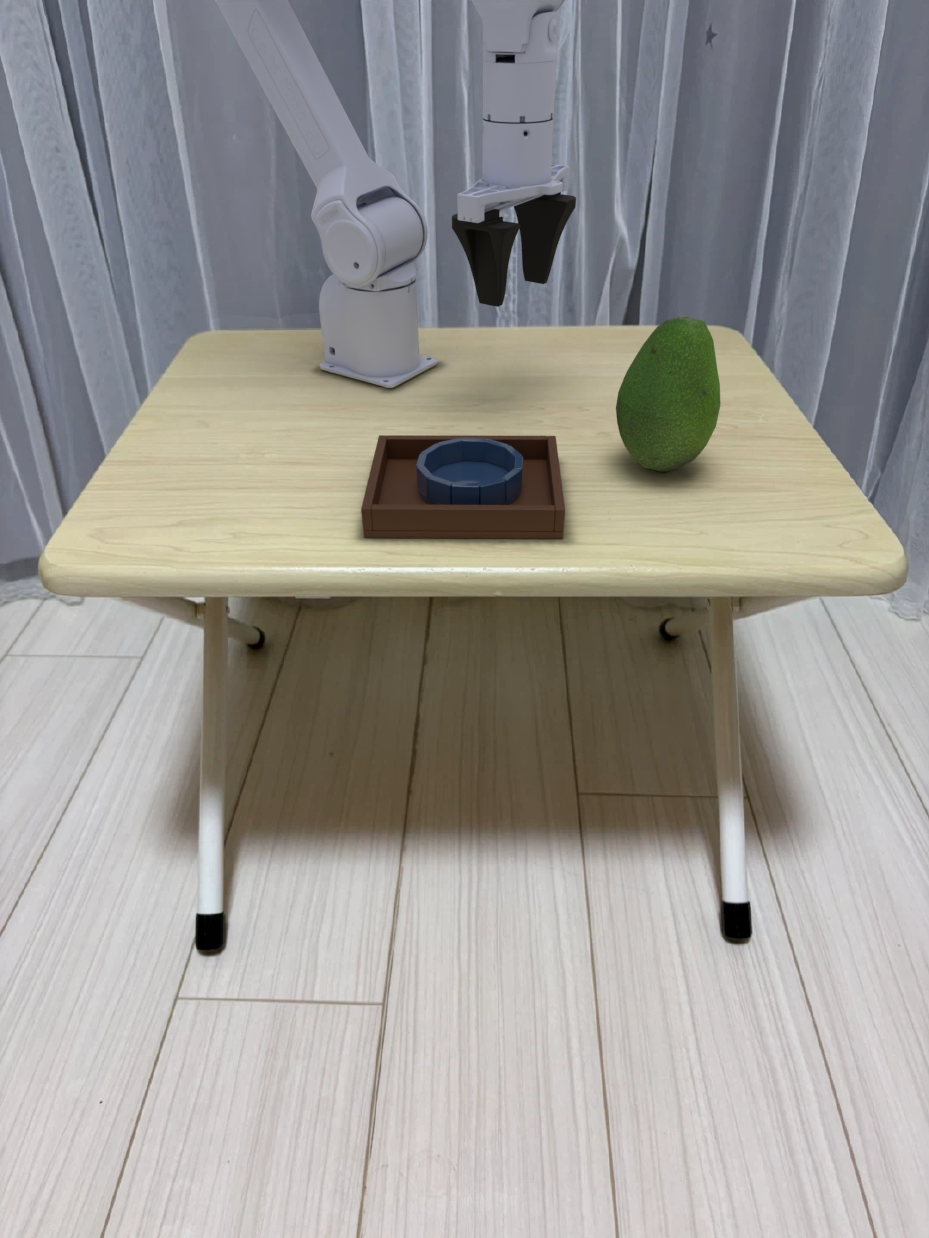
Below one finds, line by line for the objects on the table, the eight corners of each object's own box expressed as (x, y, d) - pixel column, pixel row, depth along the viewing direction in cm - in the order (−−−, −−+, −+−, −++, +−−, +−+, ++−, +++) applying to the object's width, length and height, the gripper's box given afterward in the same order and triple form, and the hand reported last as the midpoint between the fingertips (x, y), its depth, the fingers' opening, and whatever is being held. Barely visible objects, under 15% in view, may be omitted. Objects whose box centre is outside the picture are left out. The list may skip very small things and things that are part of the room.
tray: (363, 537, 62) (360, 508, 61) (380, 461, 72) (378, 435, 70) (563, 538, 62) (565, 509, 61) (554, 462, 71) (555, 435, 70)
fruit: (590, 467, 71) (603, 320, 63) (642, 434, 75) (659, 294, 68) (677, 498, 66) (701, 345, 59) (726, 462, 71) (754, 315, 64)
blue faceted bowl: (397, 494, 66) (395, 467, 65) (458, 455, 71) (457, 429, 70) (483, 525, 62) (483, 497, 61) (541, 481, 68) (542, 454, 66)
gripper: (512, 135, 62) (508, 323, 71) (604, 111, 72) (592, 279, 80) (433, 127, 66) (438, 308, 74) (532, 105, 75) (527, 267, 83)
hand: (514, 292), depth 77 cm, fingers open, 7 cm apart
